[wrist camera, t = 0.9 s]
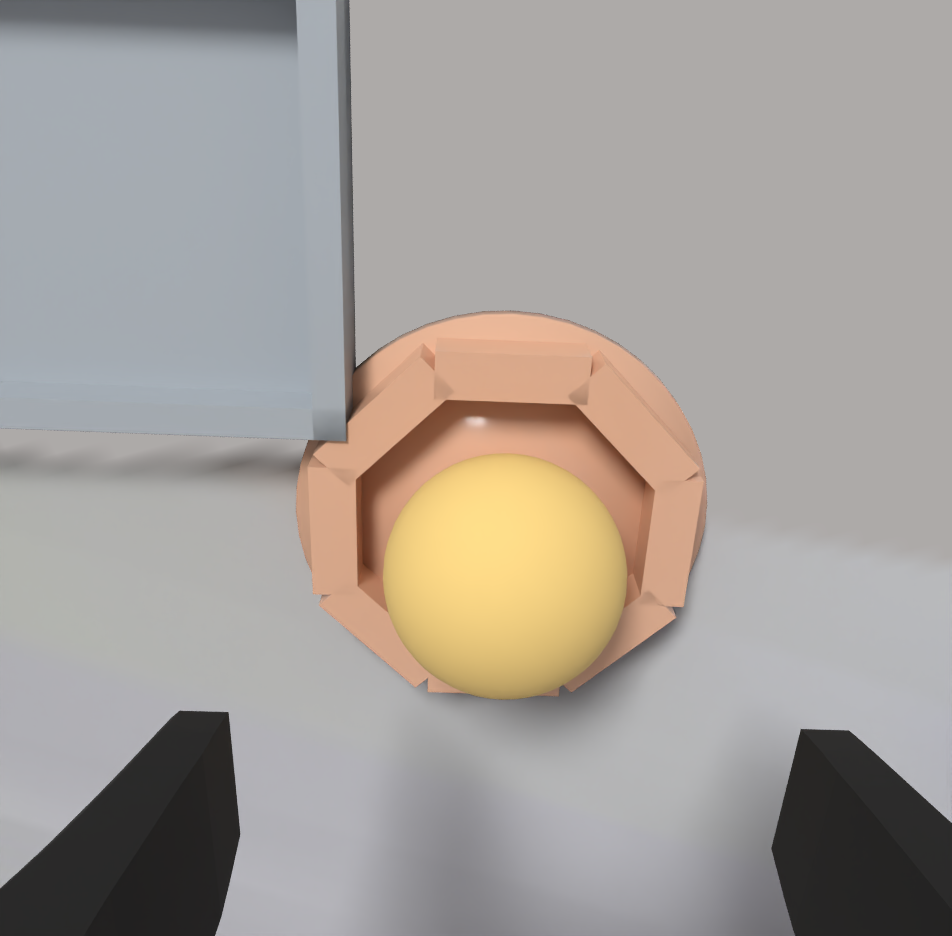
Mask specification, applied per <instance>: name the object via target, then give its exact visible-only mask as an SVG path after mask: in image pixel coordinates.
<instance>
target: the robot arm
mask: <svg viewBox="0 0 952 936" xmlns="http://www.w3.org/2000/svg"><path fill="white" fill-rule="evenodd" d="M239 838H240V826H239V816H238V806H237V795H236V785H235V775H234V765H233V754H232V744H231V734H230V723H229V713H228V712H203V711H179V712H178V713H176V714H175V715H174V716H173V717H172V718H171V719H170V720H169V721H168V722H167V723H166V724H165V725H164V726H163V727H162V728H161V729H160V730H159V731H158V732H157V733H156V735H155V736H154V737H153V738H152V739H151V740H150V741H149V742H148V743H147V744H146V745H145V746H144V747H143V748H142V749H141V751H140V752H139V753H138V754H137V755H136V756H135V757H134V758H133V759H132V760H131V761H130V762H129V763H128V764H127V765H126V766H125V767H124V769H123V770H122V771H121V772H120V773H119V774H118V775H117V776H116V777H115V778H114V779H113V780H112V781H111V782H110V783H109V784H108V785H107V786H106V787H105V788H104V789H103V790H102V791H101V792H100V793H99V794H98V795H97V796H96V797H95V798H94V799H93V800H92V801H91V802H90V803H89V804H88V805H87V806H86V807H85V808H84V809H83V810H82V811H81V812H80V813H79V814H78V815H77V816H76V817H75V818H74V819H73V820H72V821H71V822H70V823H69V824H68V825H67V826H66V827H65V828H64V829H63V830H62V831H61V832H60V833H59V834H58V835H57V836H56V837H55V838H54V839H53V840H52V841H51V842H50V843H49V844H48V845H47V846H46V847H45V848H44V849H43V850H42V851H41V852H40V853H39V854H38V855H36V856H35V857H34V858H33V859H32V860H31V861H30V862H29V863H28V864H27V865H25V866H24V867H23V868H22V869H21V870H20V871H19V872H18V873H17V874H16V875H15V876H13V877H12V878H11V879H10V880H9V881H8V882H7V883H6V884H5V885H4V886H2V887H1V888H0V936H215V934H216V931H217V928H218V925H219V922H220V919H221V916H222V912H223V908H224V903H225V899H226V895H227V891H228V887H229V883H230V878H231V874H232V869H233V865H234V860H235V856H236V851H237V847H238V842H239ZM772 852H773V856H774V860H775V864H776V868H777V872H778V876H779V880H780V884H781V887H782V891H783V895H784V899H785V902H786V906H787V909H788V913H789V916H790V920H791V923H792V927H793V930H794V933H795V936H952V823H951V822H950V821H949V820H948V819H947V818H945V817H944V816H943V815H942V814H941V813H940V812H939V811H938V810H937V809H935V808H934V807H933V806H932V805H931V804H930V803H929V802H928V801H927V800H926V799H925V798H923V797H922V796H921V795H920V794H919V793H918V792H917V791H916V790H915V789H914V788H912V787H911V786H910V785H909V784H908V783H907V782H906V781H905V780H904V779H903V778H902V777H900V776H899V775H898V774H897V773H896V772H895V771H894V770H893V769H892V768H891V767H890V766H888V765H887V764H886V763H885V762H884V761H883V760H882V759H881V758H880V757H879V756H877V755H876V754H875V753H874V752H873V751H872V750H871V749H870V748H868V747H867V746H866V745H865V744H864V743H863V742H862V741H861V740H859V739H858V738H857V737H856V736H855V735H854V734H852V733H851V732H850V731H845V730H812V729H801V731H800V735H799V739H798V743H797V747H796V751H795V755H794V759H793V764H792V768H791V772H790V776H789V780H788V784H787V788H786V792H785V796H784V800H783V804H782V808H781V812H780V816H779V820H778V824H777V828H776V832H775V836H774V840H773V844H772Z"/></svg>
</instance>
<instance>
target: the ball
mask: <svg viewBox="0 0 952 936" xmlns="http://www.w3.org/2000/svg"><path fill="white" fill-rule="evenodd" d="M383 587H384V595H385V600H386V605H387V609H388V613H389V616H390V618H391V621H392V623H393V626H394V628H395V630H396V632H397V634H398V636H399V638H400V639H401V641H402V643H403V645H404V646H405V647H406V649H407V650H408V651H409V652H410V654H411V655H412V656H413V657H414V658H415V660H416V661H417V662H418V663H419V664H420V665H421V666H422V667H423V668H424V669H425V670H427V671H428V672H429V673H431V674H432V675H433V676H434V677H436V678H437V679H439V680H441V681H442V682H444V683H446V684H448V685H449V686H451V687H453V688H455V689H458V690H460V691H462V692H465V693H468V694H471V695H474V696H479V697H484V698H489V699H501V700H503V699H521V698H528V697H532V696H537V695H540V694H543V693H546V692H549V691H552V690H554V689H556V688H558V687H560V686H562V685H564V684H566V683H567V682H569V681H570V680H572V679H574V678H575V677H576V676H578V675H579V674H580V673H582V672H583V671H584V670H585V669H587V668H588V667H589V666H590V665H591V664H592V663H593V662H594V661H595V660H596V659H597V658H598V656H599V655H600V654H601V652H602V651H603V649H604V648H605V647H606V645H607V644H608V642H609V641H610V639H611V637H612V635H613V634H614V632H615V630H616V628H617V625H618V622H619V619H620V617H621V614H622V611H623V608H624V603H625V598H626V589H627V564H626V556H625V551H624V547H623V543H622V539H621V536H620V534H619V531H618V529H617V527H616V524H615V522H614V520H613V518H612V516H611V515H610V513H609V511H608V510H607V508H606V507H605V505H604V504H603V503H602V501H601V500H600V499H599V498H598V497H597V495H596V494H595V493H594V492H593V491H592V490H591V489H590V488H589V487H588V486H587V485H586V484H585V483H584V482H583V481H581V480H580V479H579V478H577V477H576V476H575V475H573V474H572V473H570V472H569V471H567V470H565V469H563V468H561V467H559V466H557V465H555V464H553V463H551V462H548V461H545V460H543V459H540V458H536V457H532V456H528V455H522V454H512V453H498V454H488V455H481V456H477V457H473V458H470V459H466V460H463V461H461V462H459V463H456V464H454V465H452V466H450V467H448V468H446V469H444V470H443V471H441V472H439V473H438V474H436V475H435V476H434V477H432V478H431V479H430V480H428V481H427V482H426V483H424V484H423V485H422V486H421V487H420V488H419V489H418V490H417V491H416V492H415V493H414V495H413V496H412V497H411V498H410V500H409V501H408V502H407V504H406V505H405V506H404V508H403V509H402V511H401V513H400V514H399V516H398V518H397V520H396V521H395V524H394V526H393V529H392V531H391V534H390V536H389V539H388V542H387V547H386V551H385V556H384V568H383Z"/></svg>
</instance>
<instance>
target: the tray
mask: <svg viewBox="0 0 952 936" xmlns="http://www.w3.org/2000/svg"><path fill="white" fill-rule="evenodd" d="M351 130H352V129H351V74H350V16H349V0H0V428H8V429H33V430H61V431H87V432H113V433H141V434H168V435H194V436H220V437H247V438H273V439H300V440H327V441H346V440H347V426H346V424H347V421H348V419H349V416H350V414H351V411H352V408H353V386H352V376H353V373H354V371H355V369H356V361H355V360H356V357H355V304H354V303H355V302H354V243H353V186H352V132H351Z"/></svg>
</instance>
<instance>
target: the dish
mask: <svg viewBox="0 0 952 936" xmlns="http://www.w3.org/2000/svg"><path fill="white" fill-rule="evenodd" d="M352 386H353V408H352V411H351V414H350V416H349V419H348V421H347V424H346V426H347V440H346V441H327V440H308V443H307V446H306V449H305V452H304V455H303V458H302V461H301V465H300V471H299V477H298V483H297V498H296V514H297V522H298V530H299V536H300V540H301V544H302V547H303V551H304V554H305V558H306V560H307V563H308V565H309V567H310V570H311V572H312V581H313V594H322V597H321V600H320V603H319V606H320V607H322V608H323V609H324V610H325V611H326V612H327V613H329V614H330V615H331V616H332V617H333V618H334V619H336V620H337V621H338V622H339V623H340V624H342V625H343V626H344V627H345V628H346V629H347V630H349V631H350V632H351V633H352V634H353V635H354V636H356V637H357V638H358V639H359V640H360V641H361V642H363V643H364V644H365V645H366V646H367V647H369V648H370V649H371V650H372V651H373V652H374V653H376V654H377V655H378V656H379V657H380V658H381V659H383V660H384V661H385V662H386V663H387V664H388V665H390V666H391V667H392V668H393V669H394V670H396V671H397V672H398V673H399V674H400V675H401V676H403V677H404V678H405V679H406V680H407V681H408V682H410V683H411V684H412V685H413V686H414V687H417V686H418V685H419V684H421V683H422V682H423V681H425V680H426V679H427V678H428V692H443V693H465V692H462V691H460V690H458V689H455V688H453V687H451V686H449V685H448V684H446V683H444V682H442V681H441V680H439V679H437V678H436V677H434V676H433V675H432V674H431V673H429V672H428V671H427V670H425V669H424V668H423V667H422V666H421V665H420V664H419V663H418V662H417V661H416V660H415V658H414V657H413V656H412V655H411V654H410V652H409V651H408V650H407V649H406V647H405V646H404V645H403V643H402V641H401V639H400V638H399V636H398V634H397V632H396V630H395V628H394V626H393V623H392V621H391V618H390V616H389V613H388V609H387V605H386V600H385V595H384V587H383V568H384V556H385V551H386V547H387V542H388V539H389V536H390V534H391V531H392V529H393V526H394V524H395V521H396V520H397V518H398V516H399V514H400V513H401V511H402V509H403V508H404V506H405V505H406V504H407V502H408V501H409V500H410V498H411V497H412V496H413V495H414V493H415V492H416V491H417V490H418V489H419V488H420V487H421V486H422V485H423V484H424V483H426V482H427V481H428V480H430V479H431V478H432V477H434V476H435V475H436V474H438V473H439V472H441V471H443V470H444V469H446V468H448V467H450V466H452V465H454V464H456V463H459V462H461V461H463V460H466V459H470V458H473V457H477V456H481V455H488V454H498V453H512V454H522V455H528V456H532V457H536V458H540V459H543V460H545V461H548V462H551V463H553V464H555V465H557V466H559V467H561V468H563V469H565V470H567V471H569V472H570V473H572V474H573V475H575V476H576V477H577V478H579V479H580V480H581V481H583V482H584V483H585V484H586V485H587V486H588V487H589V488H590V489H591V490H592V491H593V492H594V493H595V494H596V495H597V497H598V498H599V499H600V500H601V501H602V503H603V504H604V505H605V507H606V508H607V510H608V511H609V513H610V515H611V516H612V518H613V520H614V522H615V524H616V527H617V529H618V531H619V534H620V536H621V539H622V543H623V547H624V551H625V556H626V564H627V589H626V598H625V603H624V608H623V611H622V614H621V617H620V619H619V622H618V625H617V628H616V630H615V632H614V634H613V635H612V637H611V639H610V641H609V642H608V644H607V645H606V647H605V648H604V649H603V651H602V652H601V654H600V655H599V656H598V658H597V659H596V660H595V661H594V662H593V663H592V664H591V665H590V666H589V667H588V668H587V669H585V670H584V671H583V672H582V673H580V674H579V675H578V676H576V677H575V678H574V679H572V680H570V681H569V682H567V683H566V684H564V686H565V687H566V688H567V689H568V690H569V691H570V692H573V691H574V690H576V689H577V688H578V687H580V686H581V685H583V684H584V683H585V682H587V681H588V680H590V679H591V678H592V677H594V676H595V675H597V674H598V673H599V672H601V671H602V670H604V669H605V668H606V667H608V666H609V665H611V664H612V663H613V662H615V661H616V660H618V659H619V658H620V657H622V656H623V655H625V654H626V653H627V652H629V651H630V650H632V649H633V648H634V647H636V646H637V645H639V644H640V643H641V642H643V641H644V640H646V639H647V638H648V637H650V636H651V635H653V634H654V633H655V632H657V631H658V630H660V629H661V628H662V627H664V626H665V625H667V624H668V623H669V622H671V621H672V620H674V619H675V618H676V615H675V613H674V610H673V608H672V607H683V606H684V600H685V594H686V588H687V582H688V576H689V573H690V571H691V569H692V566H693V564H694V561H695V559H696V556H697V554H698V551H699V548H700V544H701V540H702V536H703V532H704V527H705V519H706V509H707V491H706V476H705V471H704V466H703V461H702V456H701V452H700V450H699V447H698V444H697V441H696V439H695V436H694V434H693V431H692V429H691V427H690V425H689V423H688V421H687V419H686V418H685V416H684V414H683V412H682V410H681V409H680V407H679V405H678V404H677V402H676V401H675V399H674V398H673V396H672V395H671V394H670V392H669V391H668V390H667V388H666V387H665V386H664V384H663V383H662V382H661V380H660V379H659V378H658V377H657V376H656V375H655V374H654V373H653V372H652V371H651V370H650V369H649V368H648V367H647V366H646V365H645V364H644V363H643V362H642V361H641V360H640V359H639V358H637V357H636V356H635V355H633V354H632V353H631V352H629V351H628V350H627V349H625V348H624V347H623V346H621V345H620V344H618V343H617V342H615V341H613V340H611V339H609V338H608V337H606V336H604V335H602V334H600V333H598V332H597V331H595V330H592V329H589V328H587V327H584V326H582V325H579V324H576V323H574V322H571V321H569V320H565V319H561V318H557V317H553V316H548V315H544V314H539V313H530V312H520V311H482V312H476V313H470V314H464V315H457V316H453V317H449V318H446V319H442V320H439V321H436V322H432V323H429V324H426V325H424V326H421V327H419V328H417V329H414V330H412V331H410V332H408V333H405V334H403V335H401V336H400V337H398V338H396V339H395V340H393V341H391V342H390V343H388V344H386V345H385V346H383V347H381V348H380V349H378V350H377V351H376V352H375V353H373V354H372V355H371V356H370V357H368V358H367V359H366V360H365V361H363V362H362V363H361V364H360V365H359V366H357V367H356V369H355V371H354V373H353V376H352ZM559 688H560V687H558V688H556V689H554V690H552V691H549V692H546V693H543V694H540V695H537V696H559Z"/></svg>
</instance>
